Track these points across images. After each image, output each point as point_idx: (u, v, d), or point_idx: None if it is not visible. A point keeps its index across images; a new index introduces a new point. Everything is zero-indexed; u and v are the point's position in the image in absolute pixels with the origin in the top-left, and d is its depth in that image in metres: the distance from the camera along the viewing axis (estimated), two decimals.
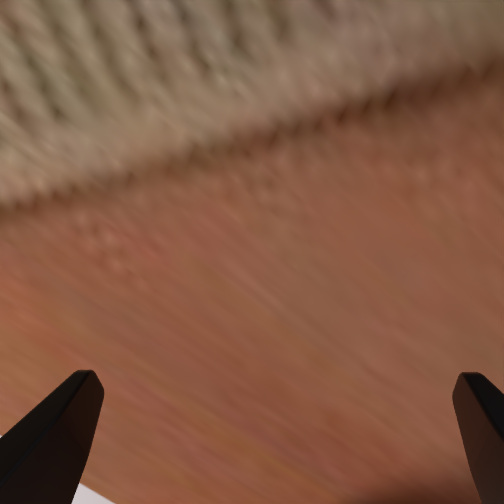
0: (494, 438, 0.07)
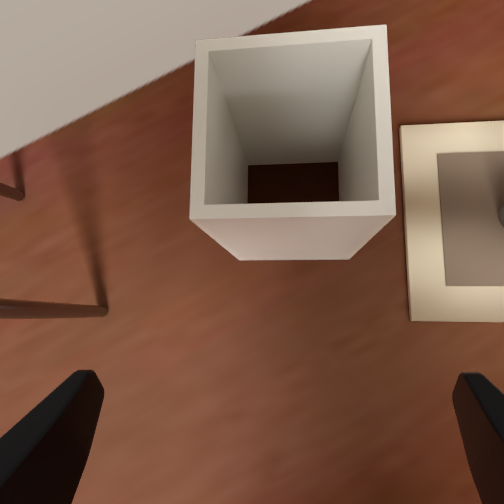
0: (494, 438, 0.07)
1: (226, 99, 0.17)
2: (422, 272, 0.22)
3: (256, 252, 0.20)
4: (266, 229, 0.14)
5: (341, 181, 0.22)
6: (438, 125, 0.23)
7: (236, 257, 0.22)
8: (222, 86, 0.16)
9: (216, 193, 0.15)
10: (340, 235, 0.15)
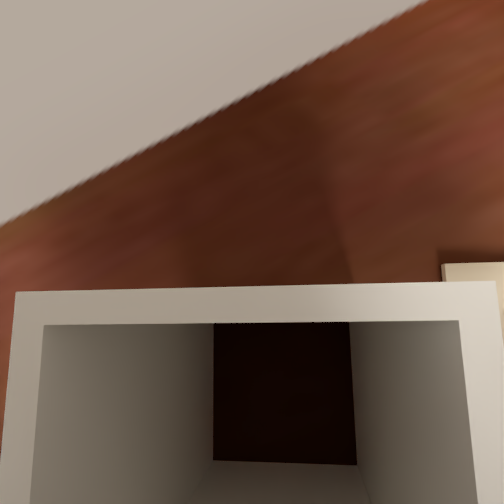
0: None
1: None
2: None
3: None
4: None
5: (356, 365, 0.14)
6: (503, 264, 0.15)
7: None
8: None
9: None
10: None
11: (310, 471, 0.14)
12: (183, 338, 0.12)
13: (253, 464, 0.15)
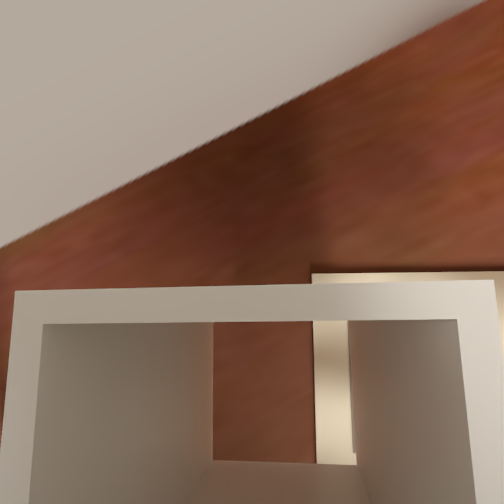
0: None
1: None
2: (329, 436, 0.21)
3: None
4: None
5: (356, 365, 0.14)
6: (349, 275, 0.22)
7: None
8: None
9: None
10: None
11: (309, 471, 0.14)
12: (183, 338, 0.12)
13: (253, 464, 0.15)
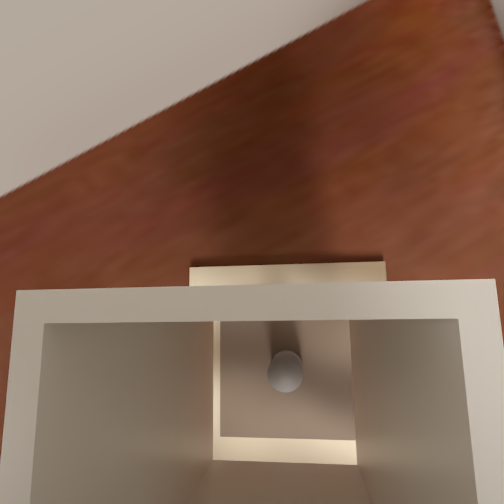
0: None
1: None
2: None
3: None
4: None
5: (356, 365, 0.14)
6: (224, 267, 0.23)
7: None
8: None
9: None
10: None
11: (309, 471, 0.14)
12: (183, 337, 0.12)
13: (253, 463, 0.15)
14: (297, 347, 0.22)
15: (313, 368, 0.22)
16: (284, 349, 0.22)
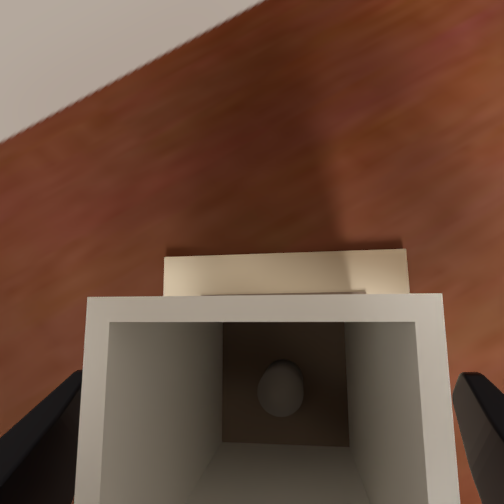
0: (494, 438, 0.07)
1: None
2: None
3: None
4: None
5: (349, 359, 0.16)
6: (206, 257, 0.19)
7: None
8: None
9: None
10: None
11: (308, 451, 0.16)
12: (199, 333, 0.14)
13: (257, 445, 0.17)
14: (296, 356, 0.17)
15: (316, 383, 0.17)
16: (280, 358, 0.17)
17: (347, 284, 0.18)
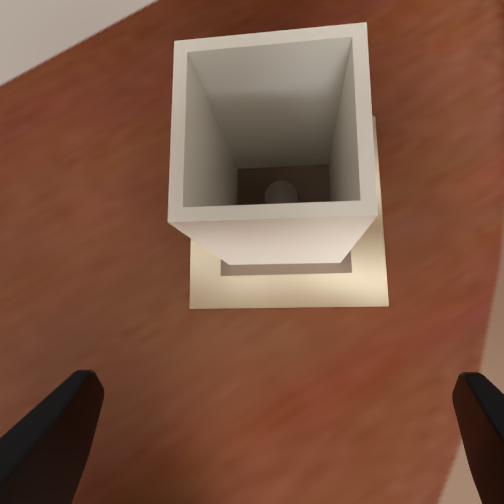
0: (494, 438, 0.07)
1: (209, 101, 0.16)
2: (202, 264, 0.23)
3: (244, 256, 0.20)
4: (248, 232, 0.14)
5: (331, 183, 0.22)
6: None
7: (225, 261, 0.22)
8: (205, 88, 0.15)
9: (198, 196, 0.14)
10: (325, 237, 0.15)
11: None
12: (224, 149, 0.20)
13: None
14: None
15: None
16: None
17: None
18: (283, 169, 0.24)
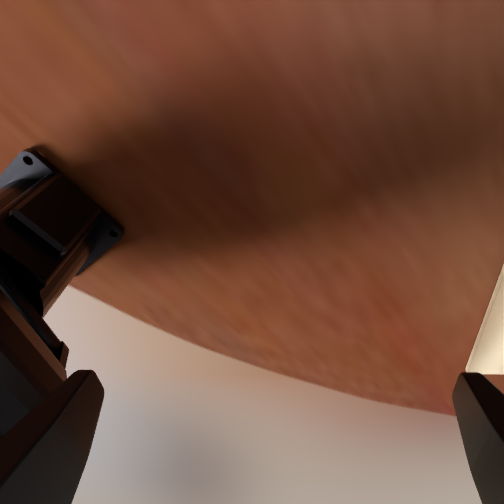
0: (494, 438, 0.07)
1: None
2: None
3: None
4: None
5: None
6: None
7: None
8: None
9: None
10: None
11: None
12: None
13: None
14: None
15: None
16: None
17: None
18: None
